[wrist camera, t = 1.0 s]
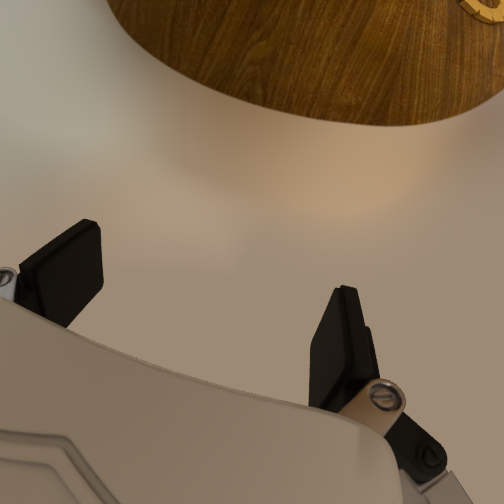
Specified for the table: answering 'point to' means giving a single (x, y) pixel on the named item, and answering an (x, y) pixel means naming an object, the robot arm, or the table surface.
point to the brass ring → (484, 10)
